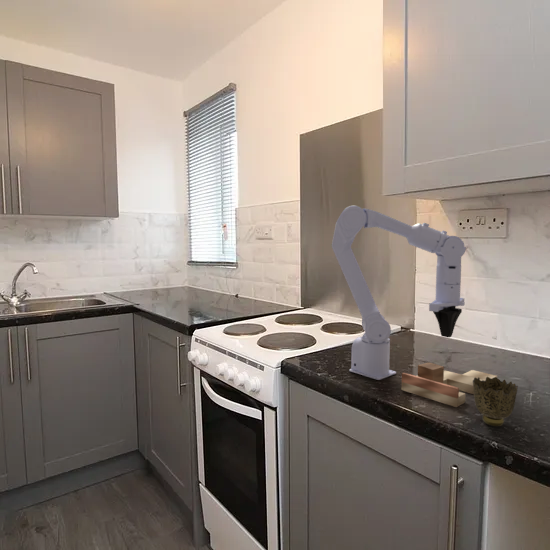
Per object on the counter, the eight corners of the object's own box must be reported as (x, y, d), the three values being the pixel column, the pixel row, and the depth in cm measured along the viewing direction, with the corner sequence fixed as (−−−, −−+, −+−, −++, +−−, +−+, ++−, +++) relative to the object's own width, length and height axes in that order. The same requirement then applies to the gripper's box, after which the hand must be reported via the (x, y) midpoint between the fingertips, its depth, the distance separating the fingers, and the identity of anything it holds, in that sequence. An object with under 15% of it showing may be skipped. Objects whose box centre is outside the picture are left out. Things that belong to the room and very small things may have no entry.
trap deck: (401, 389, 94) (401, 373, 93) (445, 370, 107) (445, 356, 107) (456, 407, 84) (457, 388, 84) (496, 383, 98) (497, 367, 97)
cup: (500, 414, 80) (502, 375, 80) (524, 432, 73) (526, 389, 72) (464, 415, 80) (465, 376, 79) (484, 432, 73) (486, 390, 72)
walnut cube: (417, 381, 94) (417, 365, 93) (428, 378, 96) (428, 362, 95) (432, 387, 90) (432, 369, 90) (443, 383, 92) (443, 366, 92)
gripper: (449, 287, 94) (447, 344, 95) (477, 282, 103) (474, 334, 104) (421, 284, 99) (420, 338, 100) (450, 280, 108) (448, 330, 109)
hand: (446, 336), depth 102 cm, fingers closed
